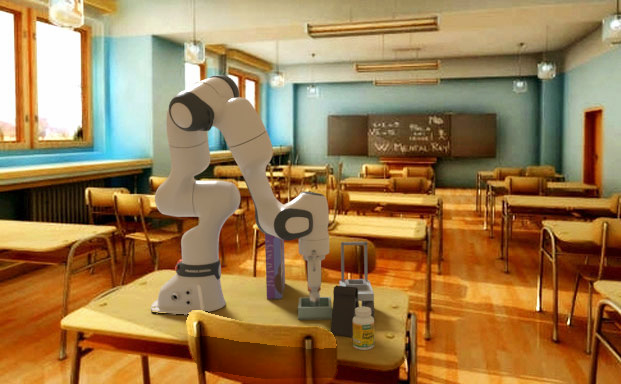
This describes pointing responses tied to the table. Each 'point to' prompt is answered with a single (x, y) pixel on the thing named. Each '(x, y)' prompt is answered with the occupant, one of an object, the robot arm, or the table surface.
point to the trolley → (359, 280)
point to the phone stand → (344, 310)
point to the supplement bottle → (363, 329)
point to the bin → (314, 309)
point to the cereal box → (274, 267)
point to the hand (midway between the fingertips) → (314, 293)
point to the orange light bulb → (314, 298)
